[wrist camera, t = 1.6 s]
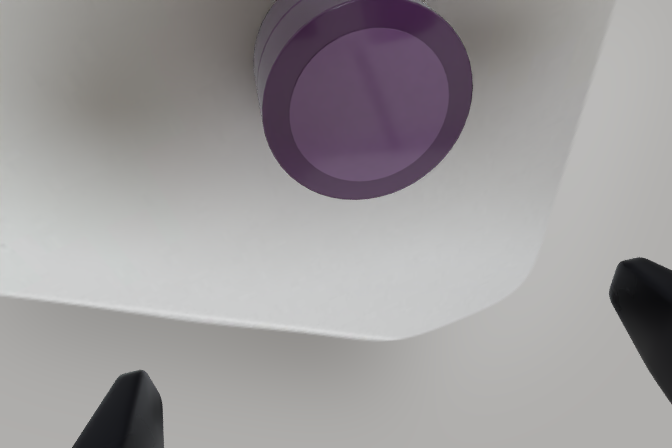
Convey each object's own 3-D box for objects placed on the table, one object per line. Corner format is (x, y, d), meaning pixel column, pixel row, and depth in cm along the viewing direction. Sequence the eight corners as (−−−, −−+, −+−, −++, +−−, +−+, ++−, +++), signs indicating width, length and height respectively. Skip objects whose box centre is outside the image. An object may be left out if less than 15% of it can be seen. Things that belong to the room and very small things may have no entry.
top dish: (472, -12, 16) (501, 6, 14) (426, 170, 20) (444, 199, 18) (259, -31, 14) (265, -13, 13) (255, 170, 18) (259, 202, 17)
